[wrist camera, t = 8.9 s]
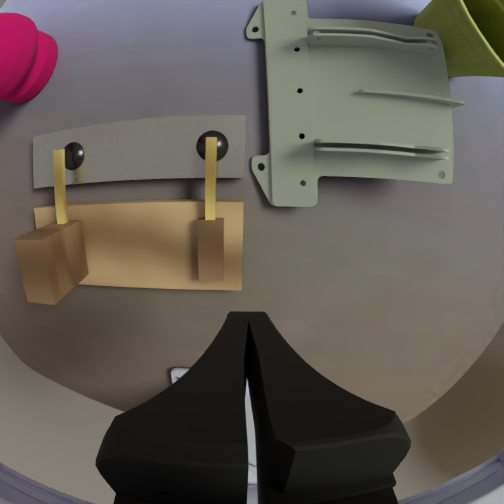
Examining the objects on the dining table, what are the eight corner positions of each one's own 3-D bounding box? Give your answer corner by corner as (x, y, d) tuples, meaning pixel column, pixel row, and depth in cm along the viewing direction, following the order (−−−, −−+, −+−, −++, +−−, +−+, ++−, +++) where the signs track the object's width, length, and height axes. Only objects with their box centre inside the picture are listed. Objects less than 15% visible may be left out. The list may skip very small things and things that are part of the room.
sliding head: (88, 274, 19) (54, 305, 14) (63, 272, 19) (27, 301, 14) (78, 147, 16) (35, 148, 12) (52, 152, 16) (7, 155, 11)
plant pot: (427, 107, 18) (505, 96, 9) (371, 4, 15) (425, -47, 7) (488, 86, 17) (555, 79, 8) (444, -2, 14) (499, -32, 6)
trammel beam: (241, 283, 21) (241, 295, 19) (52, 276, 21) (40, 285, 19) (244, 139, 18) (245, 137, 16) (40, 155, 18) (25, 156, 16)
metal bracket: (452, 2, 10) (471, 221, 14) (429, 30, 15) (440, 205, 20) (237, -9, 13) (246, 210, 18) (258, 23, 19) (265, 197, 23)
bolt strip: (243, 177, 19) (244, 178, 18) (41, 186, 18) (33, 188, 17) (245, 117, 18) (245, 115, 17) (40, 137, 17) (32, 137, 16)
